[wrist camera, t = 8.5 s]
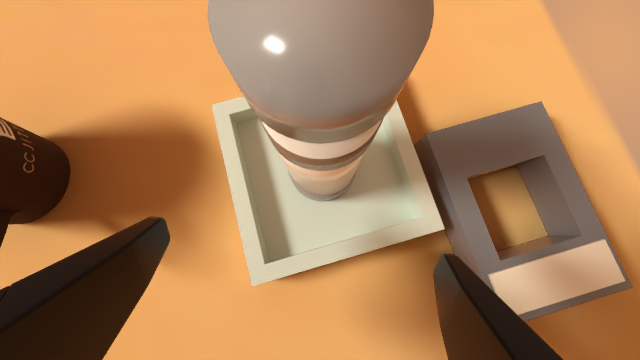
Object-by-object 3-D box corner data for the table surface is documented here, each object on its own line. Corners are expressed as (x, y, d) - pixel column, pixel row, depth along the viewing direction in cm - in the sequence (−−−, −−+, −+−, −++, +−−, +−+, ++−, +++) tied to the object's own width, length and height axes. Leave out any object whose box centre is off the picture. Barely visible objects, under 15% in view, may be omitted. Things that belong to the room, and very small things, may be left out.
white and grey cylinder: (367, 175, 19) (482, 18, 5) (316, 214, 18) (298, 154, 5) (327, 128, 20) (337, -119, 6) (278, 164, 19) (165, -13, 5)
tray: (429, 229, 19) (444, 228, 17) (261, 279, 18) (252, 286, 16) (375, 78, 21) (381, 59, 19) (224, 119, 21) (211, 104, 18)
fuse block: (590, 280, 18) (636, 287, 15) (477, 315, 18) (503, 329, 15) (515, 117, 20) (543, 99, 18) (413, 146, 20) (427, 132, 18)
